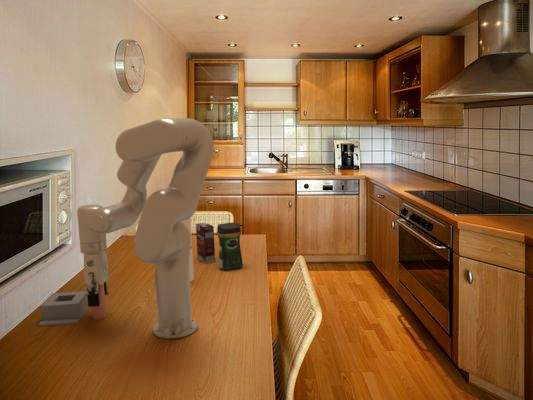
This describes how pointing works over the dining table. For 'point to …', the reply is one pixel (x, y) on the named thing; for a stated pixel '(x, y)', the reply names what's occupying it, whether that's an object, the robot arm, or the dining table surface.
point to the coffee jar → (229, 246)
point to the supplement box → (205, 242)
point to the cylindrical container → (188, 224)
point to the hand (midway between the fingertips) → (98, 300)
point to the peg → (100, 310)
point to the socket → (64, 308)
